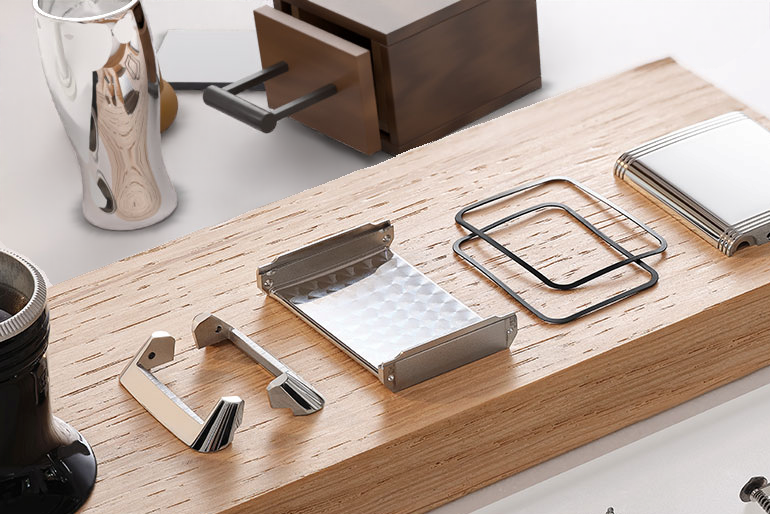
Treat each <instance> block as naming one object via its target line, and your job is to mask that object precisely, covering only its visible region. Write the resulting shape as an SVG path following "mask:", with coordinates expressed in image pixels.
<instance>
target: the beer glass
mask: <svg viewBox="0 0 770 514" xmlns="http://www.w3.org/2000/svg"><path fill="white" fill-rule="evenodd" d="M31 7H32V10H33V16H34V23H35V24H34V25H35V33H36V39H37V45H38V51H39V56H40V61H41V67H42V70H43V74H44V78H45V81H46V85H47V88H48V91H49V94H50V96H51V99H52V102H53V105H54V108H55V109H56V112H57V114H58V116H59V119H60V121H61V124H62V125H63V128H64V130H65V133H66V134H67V136H68V139H69V141H70V143H71V146H72V149H73V150H74V153H75V156H76V158H77V162H78V166H79V171H80V174H81V184H82V211H83V212H82V213H83V216H84V217H85V219H86V221H88V222H89V223H90V224H91V225H93V226H95V227H97V228H101V229H104V230H109V231H133V230H139V229H143V228H147V227H151V226H153V225H156V224H157V223H160V222H162V221H164V220H165V219H166V218H168V217H169V216H170V215H171V214H173V212H174V211H175V209H176V208H177V205H178V196H177V192H176V189H175V186H174V185H173V183H172V180H171V178H170V176H169V173H168V171H167V167H166V165H165V161H164V157H163V151H162V143H161V134H160V79H159V67H158V61H157V50H156V44H155V40H154V36H153V31H152V27H151V24H150V21H149V17H148V14H147V10H146V7H145V3H144V0H32V1H31Z"/></svg>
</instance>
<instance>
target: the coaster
mask: <svg viewBox="0 0 770 514" xmlns="http://www.w3.org/2000/svg"><path fill="white" fill-rule="evenodd" d="M156 54H157V59H158V63H159V67H160V71H161V76H162V79H164V80H165V81H166V82H168V83H169V84H170V86H171V87H172V88H173V90H196V91H197V90H198V91H199V90H204V91H205V89H206V88H207V87H209V86H211V85H214V86H217V87H219V88H223V87H225V86H227V85H230V84H232V83H234V82H236V81H239V80H241V79H243V78H245V77H247V76H250V75H252V74H254V73H256V72H258V71H261V70H262V65H261V58H260V52H259V46H258V39H257V33H256V29H253V30H252V29H251V30H250V29H249V30H248V29H247V30H246V29H243V30H242V29H239V30H238V29H168V30H167V31H166V33H165V36H164V38H163V39H162V41H161V44H160V45H159V48H158V50H157V51H156ZM247 91H266V90H265V84H264V82H263V83H261V84H259V85H257V86H254V87H252V88H250V89H248V90H247Z"/></svg>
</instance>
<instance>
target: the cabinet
mask: <svg viewBox="0 0 770 514" xmlns="http://www.w3.org/2000/svg"><path fill="white" fill-rule="evenodd" d="M537 3H538V2H537V0H272V5H273V8H274V9H277V10H279V11H281V12H283V13H286V14H288V15H290V16H292V11H291V4H292V5H294V6H296V7H298V8H301V9H303V10H305V11H307V12H310V13H312V14H314V15H317V16H319V17H321V18H323V19H326V20H328V21H330V22H332V23H335V24H337V25H339V26H342V27H344V28H346V29H348V30H351V31H353V32H355V33H357V34H360V35H362V36H364V37H367V38H369V39H371V40H373V41H376V42H378V43H380V44H379V47H380V55H381V64H382V72H383V81H384V89H385V98H386V106H387V115H388V123H389V131H390V133H388V132H385V131H383V130H381V129H379V132H380V140H381V148H382V149H381V150H382V151H383V152H386V153H388V154H390V155H392V156H394V157H396V155H398V154H401V153H403V152H406V151H408V150H410V149H413V148H416V147H419V146H422V145H424V144H427V143H430V142H432V141H434V142H436V141H438V140H441V139H442V138H444V137H446V136H449V135H450V134H452V133H454V132H456V131H458V130H460V129H462V128H464V127H466V126H468V125H469V124H472V123H474V122H476V121H477V120H479V119H481V118H484V117H485V116H488V115H489V114H491V113H493V112H496V111H497V110H499V109H502V108H503V107H504V106H505V107H506V106H507V105H509V104H510V103H513V102H515V101H517V100H519V99H521V98H523V97H524V96H527V95H529V94H530V93H532V92H535V91H536V90H538V89H540V88H542V87H543V80H542V67H541V51H540V35H539V22H538V5H537ZM437 139H438V140H437ZM435 140H436V141H435ZM432 143H433V142H432ZM430 144H431V143H430ZM381 150H380V151H381Z"/></svg>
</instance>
